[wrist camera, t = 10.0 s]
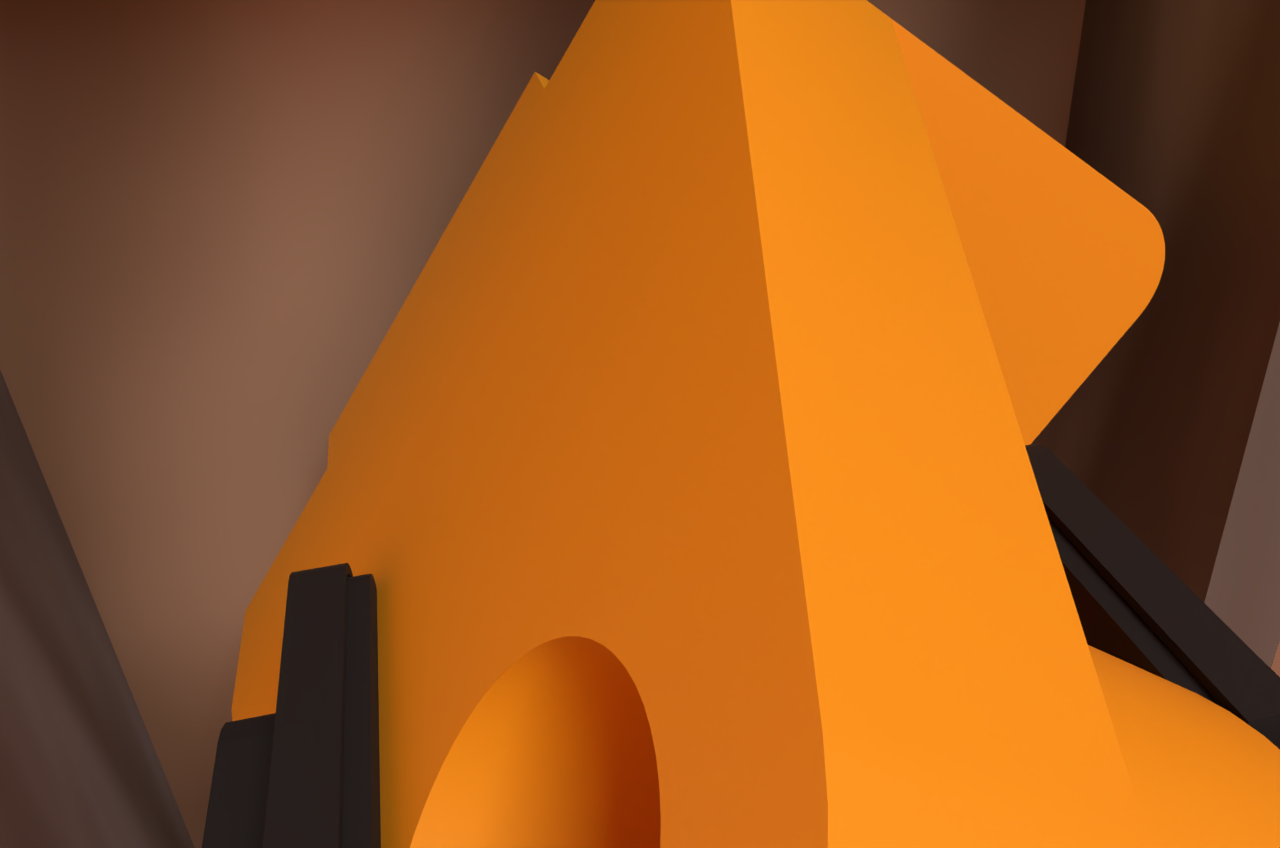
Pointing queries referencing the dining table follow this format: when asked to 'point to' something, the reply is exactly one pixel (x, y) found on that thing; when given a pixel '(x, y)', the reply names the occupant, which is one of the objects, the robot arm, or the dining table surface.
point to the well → (388, 269)
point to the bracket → (753, 470)
